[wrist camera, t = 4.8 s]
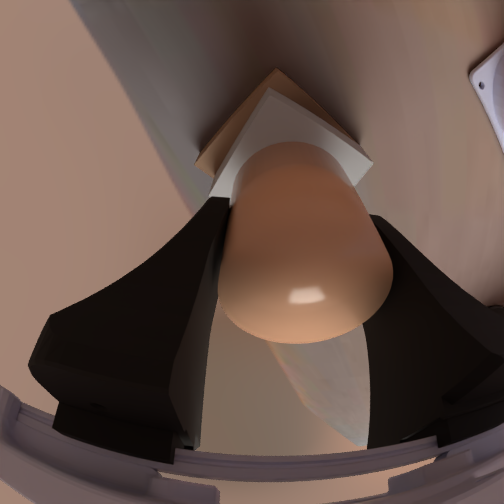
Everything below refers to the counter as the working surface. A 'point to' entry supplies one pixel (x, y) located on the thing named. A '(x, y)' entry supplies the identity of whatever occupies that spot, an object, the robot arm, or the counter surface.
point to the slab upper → (287, 140)
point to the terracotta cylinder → (300, 248)
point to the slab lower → (232, 127)
